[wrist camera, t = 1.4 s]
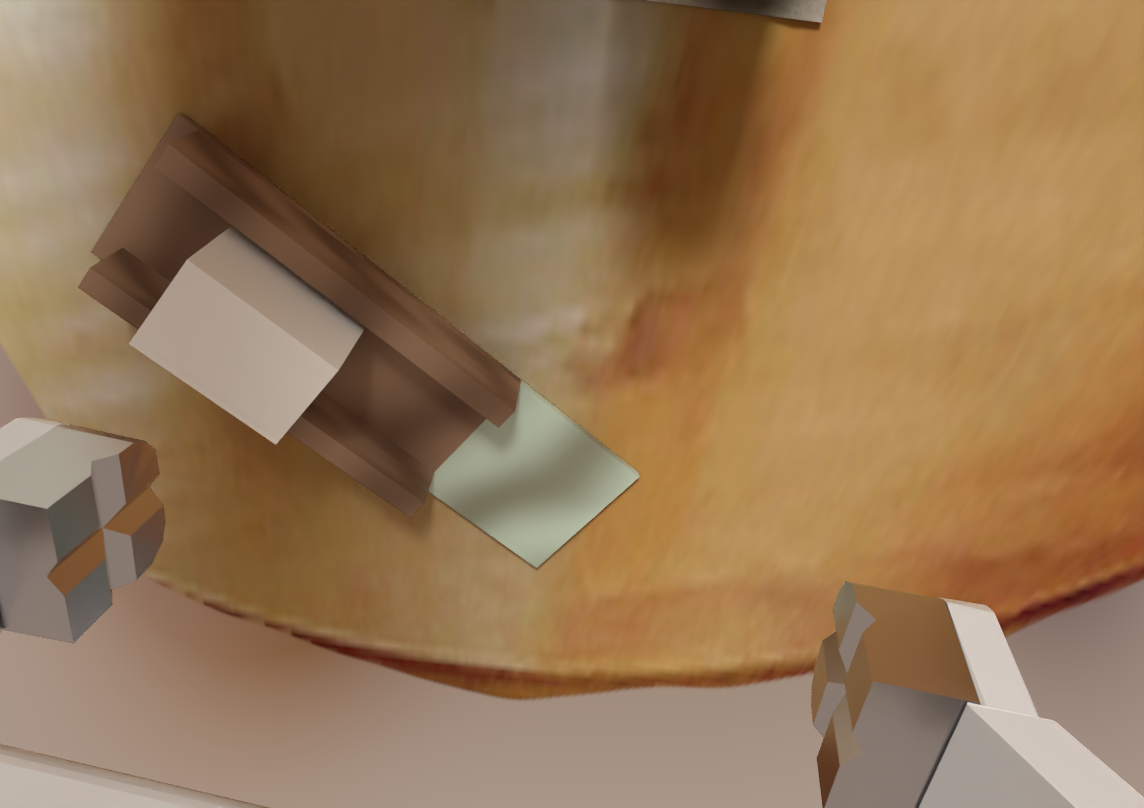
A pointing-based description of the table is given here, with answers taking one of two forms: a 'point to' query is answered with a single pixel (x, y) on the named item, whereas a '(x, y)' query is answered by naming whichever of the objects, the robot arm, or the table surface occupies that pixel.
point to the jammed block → (248, 334)
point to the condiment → (763, 7)
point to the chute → (369, 358)
